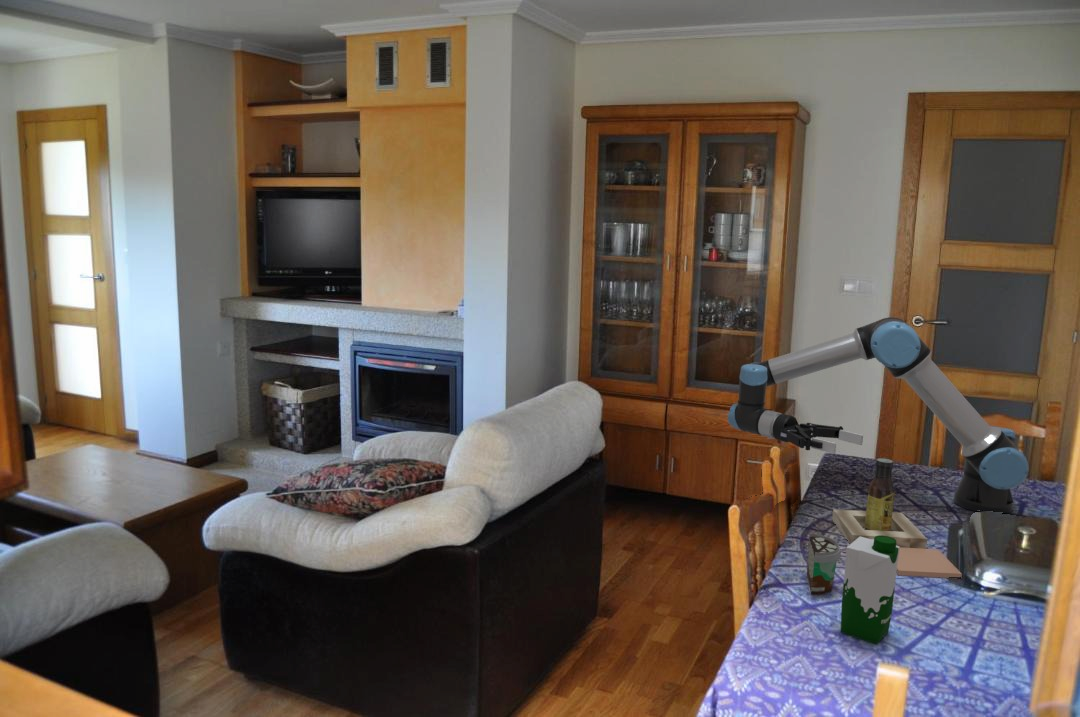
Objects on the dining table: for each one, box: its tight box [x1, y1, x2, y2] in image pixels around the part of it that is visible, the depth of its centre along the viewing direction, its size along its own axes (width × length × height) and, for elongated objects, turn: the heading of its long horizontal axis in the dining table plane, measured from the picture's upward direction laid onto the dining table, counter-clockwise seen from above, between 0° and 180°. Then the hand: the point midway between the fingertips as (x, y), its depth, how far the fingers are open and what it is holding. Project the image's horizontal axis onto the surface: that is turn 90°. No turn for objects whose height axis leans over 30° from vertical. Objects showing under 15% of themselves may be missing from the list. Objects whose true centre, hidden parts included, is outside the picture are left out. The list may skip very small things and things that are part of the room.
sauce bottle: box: [864, 458, 896, 531], centre depth 218 cm, size 7×6×20 cm
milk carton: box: [840, 535, 900, 645], centre depth 167 cm, size 9×9×20 cm
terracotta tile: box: [896, 547, 963, 579], centre depth 201 cm, size 14×14×1 cm
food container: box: [806, 532, 842, 595], centre depth 188 cm, size 12×6×10 cm, turn 168°
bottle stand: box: [831, 509, 928, 549], centre depth 219 cm, size 18×18×3 cm
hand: (849, 444), depth 223 cm, fingers open, 13 cm apart
